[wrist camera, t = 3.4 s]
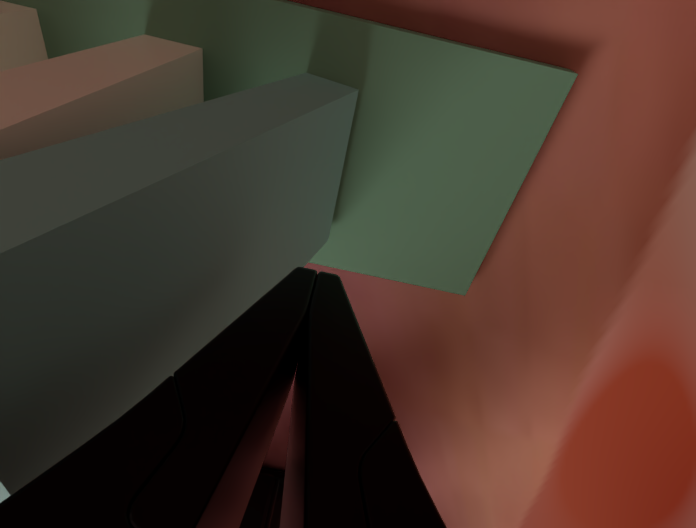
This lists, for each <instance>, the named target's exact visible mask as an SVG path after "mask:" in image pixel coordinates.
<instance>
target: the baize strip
mask: <svg viewBox="0 0 696 528" xmlns="http://www.w3.org/2000/svg"><path fill="white" fill-rule="evenodd" d="M0 1H5V2H9V3H13V4H17V5H22V6H26V7H30V8H34V9H36V10H37V14H38V18H39V23H40V27H41V31H42V35H43V39H44V43H45V48H46V52H47V56H48V59H51V58H55V57H59V56H63V55H66V54H70V53H74V52H78V51H82V50H86V49H90V48H94V47H97V46H101V45H105V44H109V43H113V42H117V41H121V40H125V39H129V38H132V37H136V36H140V35H144V34H145V35H149V36H153V37H157V38H161V39H166V40H170V41H174V42H178V43H182V44H186V45H191V46H195V47H199V48H202V49H203V92H204V102H205V101H209V100H212V99H216V98H219V97H223V96H226V95H230V94H233V93H237V92H240V91H244V90H247V89H251V88H254V87H258V86H261V85H265V84H268V83H272V82H275V81H279V80H282V79H286V78H289V77H293V76H296V75H300V74H303V73H309V74H312V75H315V76H318V77H322V78H325V79H328V80H331V81H334V82H337V83H340V84H343V85H346V86H349V87H352V88H356V89H359V91H358V96H357V101H356V106H355V111H354V116H353V121H352V126H351V131H350V136H349V140H348V145H347V150H346V155H345V160H344V165H343V170H342V175H341V180H340V185H339V190H338V195H337V200H336V205H335V209H334V214H333V219H332V224H331V229H330V234H329V239H328V241H327V242H326V243H325V244H324V245H323V247H322V248H321V249H320V250H319V251H318V252H317V253H316V254H315V255H314V256H313V257H312V258H311V260H310V261H309V262H310V263H314V264H319V265H324V266H328V267H333V268H338V269H342V270H347V271H352V272H357V273H361V274H366V275H371V276H375V277H380V278H385V279H389V280H394V281H399V282H403V283H408V284H413V285H418V286H422V287H427V288H432V289H436V290H441V291H446V292H450V293H455V294H460V295H464V296H465V295H466V293H467V291H468V289H469V287H470V285H471V283H472V281H473V279H474V277H475V275H476V273H477V271H478V269H479V267H480V265H481V263H482V261H483V259H484V257H485V255H486V253H487V252H488V250H489V248H490V246H491V244H492V242H493V240H494V238H495V236H496V234H497V232H498V230H499V228H500V226H501V224H502V222H503V220H504V218H505V216H506V214H507V212H508V210H509V208H510V206H511V204H512V203H513V201H514V199H515V197H516V195H517V193H518V191H519V189H520V187H521V185H522V183H523V181H524V179H525V177H526V175H527V173H528V171H529V169H530V167H531V165H532V163H533V161H534V159H535V157H536V155H537V154H538V152H539V150H540V148H541V146H542V144H543V142H544V140H545V138H546V136H547V134H548V132H549V130H550V128H551V126H552V124H553V122H554V120H555V118H556V116H557V114H558V112H559V110H560V108H561V106H562V105H563V103H564V101H565V99H566V97H567V95H568V93H569V91H570V89H571V87H572V85H573V83H574V81H575V79H576V77H577V75H578V74H577V73H575V72H574V71H572V70H570V69H567V68H562V67H558V66H554V65H550V64H546V63H542V62H538V61H534V60H530V59H526V58H521V57H517V56H513V55H509V54H505V53H501V52H497V51H493V50H489V49H484V48H480V47H476V46H472V45H468V44H464V43H460V42H456V41H452V40H448V39H443V38H439V37H435V36H431V35H427V34H423V33H419V32H415V31H411V30H406V29H402V28H398V27H394V26H390V25H386V24H382V23H378V22H374V21H370V20H365V19H361V18H357V17H353V16H349V15H345V14H341V13H337V12H333V11H328V10H324V9H320V8H316V7H312V6H308V5H304V4H300V3H296V2H292V1H287V0H0Z"/></svg>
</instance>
